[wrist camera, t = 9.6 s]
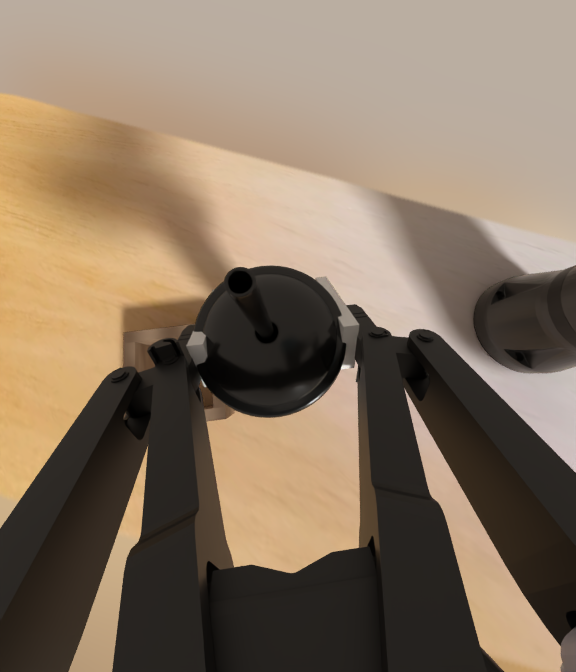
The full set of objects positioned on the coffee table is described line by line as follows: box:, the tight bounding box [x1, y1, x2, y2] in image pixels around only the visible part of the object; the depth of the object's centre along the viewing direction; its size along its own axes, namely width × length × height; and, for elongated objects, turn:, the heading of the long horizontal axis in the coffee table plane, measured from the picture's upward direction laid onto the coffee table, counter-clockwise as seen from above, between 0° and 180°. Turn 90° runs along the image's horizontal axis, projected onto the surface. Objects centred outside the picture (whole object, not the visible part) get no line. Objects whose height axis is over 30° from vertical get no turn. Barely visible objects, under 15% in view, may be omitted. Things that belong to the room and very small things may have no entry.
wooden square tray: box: [124, 324, 234, 422], centre depth 31 cm, size 13×13×4 cm
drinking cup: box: [194, 266, 346, 418], centre depth 14 cm, size 8×8×20 cm
